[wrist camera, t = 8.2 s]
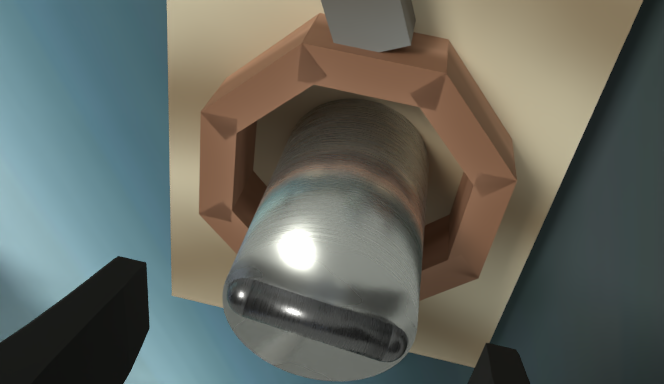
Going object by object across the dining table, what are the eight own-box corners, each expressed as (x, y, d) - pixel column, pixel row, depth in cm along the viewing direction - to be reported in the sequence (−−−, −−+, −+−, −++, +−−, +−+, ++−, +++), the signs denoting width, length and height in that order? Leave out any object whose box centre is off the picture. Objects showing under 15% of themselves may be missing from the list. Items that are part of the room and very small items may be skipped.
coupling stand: (477, 344, 24) (478, 418, 21) (183, 274, 25) (148, 338, 22) (666, -94, 15) (713, -61, 12) (183, -185, 15) (121, -174, 13)
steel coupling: (451, 127, 17) (448, 298, 12) (400, 237, 20) (377, 419, 15) (305, 77, 17) (233, 228, 12) (273, 194, 20) (202, 362, 14)
